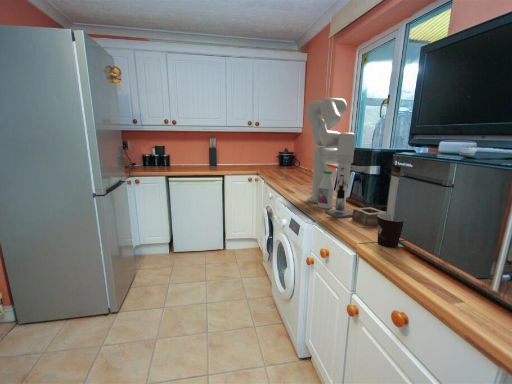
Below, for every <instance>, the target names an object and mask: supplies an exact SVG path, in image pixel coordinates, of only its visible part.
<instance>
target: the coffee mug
mask: <svg viewBox="0 0 512 384" xmlns="http://www.w3.org/2000/svg"><path fill="white" fill-rule="evenodd" d="M391 214H392V213H388V214H379V215H378V225H377V244H378V245H379V246H381V247H383V248H386V249H387V248H388V249H396V248H398V246H399V244H400V240H399V238H400V239H401V237H400V235H401V236H402V233H401V231H402V232H403V230H402V227H403V228H404V226H403V222H404V221H392V220H391ZM398 241H399V242H398Z"/></svg>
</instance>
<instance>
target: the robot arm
mask: <svg viewBox="0 0 512 384" xmlns="http://www.w3.org/2000/svg"><path fill="white" fill-rule="evenodd" d="M347 106H348V104H347V102H346V100H345V99H344V98H339V97H326V98H323V99H322V100H321V99H320V100H319V99H317V100H312V101H310V102H309V103H308V104H307V107H306V108H307V109H306V110H307V112H306V114H307V120H308V122H309V124H310V127H311V134H312V141H313V145H314V146H315V147H316V148H314V149H313V151H312V165H313V167H312V169H313V170H312V186H311V192H310V193H309V195H310V197H309V198H308V201H309V202H312V203H314V202H315V203H316V204H318V195H319V185H320V182H321V180H322V178H323V171H324V170H330V168H329V166H328V165H337V175H336V183H337V186H338V192H337V191H336V197H337V198H340V199H344V194H345V190H344V188H345V183H346V184H347V185H348V184H349V183H350V181H351V180H350V179H351V164H353V163H354V156H355V155H354V154H355V143H356V134H355V133H354V132H339V131H336V130H330V129H332V128H333V127H336V126H337V125H339V123H340V122H341V118H342V117H341V116H343V115H344V114H346V112H347V109H348V107H347ZM342 183H344V184H342ZM338 184H339V185H338Z"/></svg>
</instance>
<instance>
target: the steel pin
mask: <svg viewBox="0 0 512 384" xmlns="http://www.w3.org/2000/svg"><path fill="white" fill-rule="evenodd" d="M342 184H344V183H342ZM338 185H339V184H338V183H337V185H336V186H337V187H336V193H337V192H338ZM344 190H345V194H344V199H340V198H337V196H336V199H335V210H338V211H344V210H345V211H346V201H347V190H348V184H346V183H345V188H344Z"/></svg>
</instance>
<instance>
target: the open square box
mask: <svg viewBox="0 0 512 384" xmlns="http://www.w3.org/2000/svg"><path fill="white" fill-rule="evenodd" d="M352 213H353V217H352V218H351V219H352V220H353V221H356V222H358V223H361V224H362V225H365V226H367V227H370V226H372V227H373V226H378V215H379V214H386V213H387V212H386V211H383V210H381V209H378V208H374V207H370V206H369V207H359V208H353V210H352Z"/></svg>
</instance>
